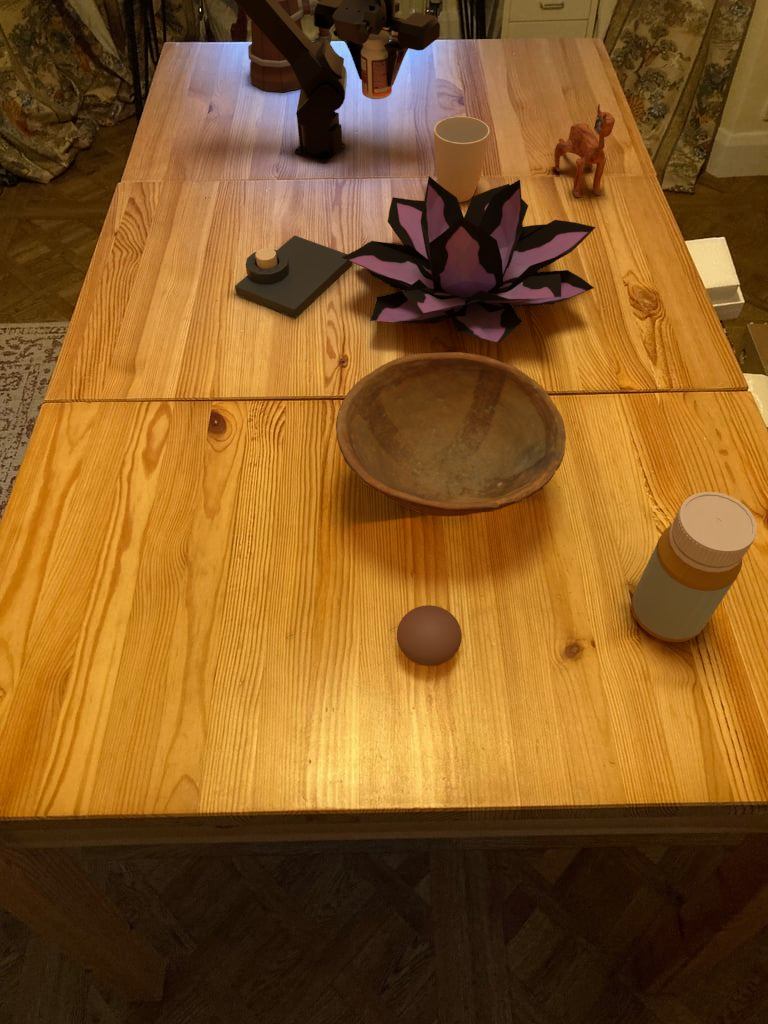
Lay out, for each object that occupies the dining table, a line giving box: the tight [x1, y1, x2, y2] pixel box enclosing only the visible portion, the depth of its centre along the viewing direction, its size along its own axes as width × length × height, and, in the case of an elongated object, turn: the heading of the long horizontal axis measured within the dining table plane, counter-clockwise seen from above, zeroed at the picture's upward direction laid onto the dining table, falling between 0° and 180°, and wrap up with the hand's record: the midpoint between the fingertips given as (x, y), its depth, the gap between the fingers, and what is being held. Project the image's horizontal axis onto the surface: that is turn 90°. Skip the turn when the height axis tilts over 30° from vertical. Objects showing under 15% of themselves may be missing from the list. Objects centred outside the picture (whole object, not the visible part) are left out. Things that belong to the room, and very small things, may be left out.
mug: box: [245, 0, 333, 93], centre depth 140 cm, size 16×12×15 cm
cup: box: [433, 115, 490, 203], centre depth 116 cm, size 8×8×10 cm
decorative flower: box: [342, 175, 596, 344], centre depth 99 cm, size 32×32×15 cm
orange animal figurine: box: [554, 103, 616, 198], centre depth 118 cm, size 18×7×14 cm, turn 9°
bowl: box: [335, 351, 567, 517], centre depth 80 cm, size 22×23×10 cm
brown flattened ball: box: [396, 604, 463, 667], centre depth 71 cm, size 6×6×4 cm
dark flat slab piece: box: [234, 235, 353, 319], centre depth 106 cm, size 11×14×3 cm
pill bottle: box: [361, 30, 393, 100], centre depth 118 cm, size 5×5×8 cm
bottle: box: [630, 491, 758, 643], centre depth 68 cm, size 7×7×15 cm
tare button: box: [255, 247, 277, 269], centre depth 105 cm, size 3×3×2 cm
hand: (376, 82), depth 120 cm, fingers closed on pill bottle, 5 cm apart
